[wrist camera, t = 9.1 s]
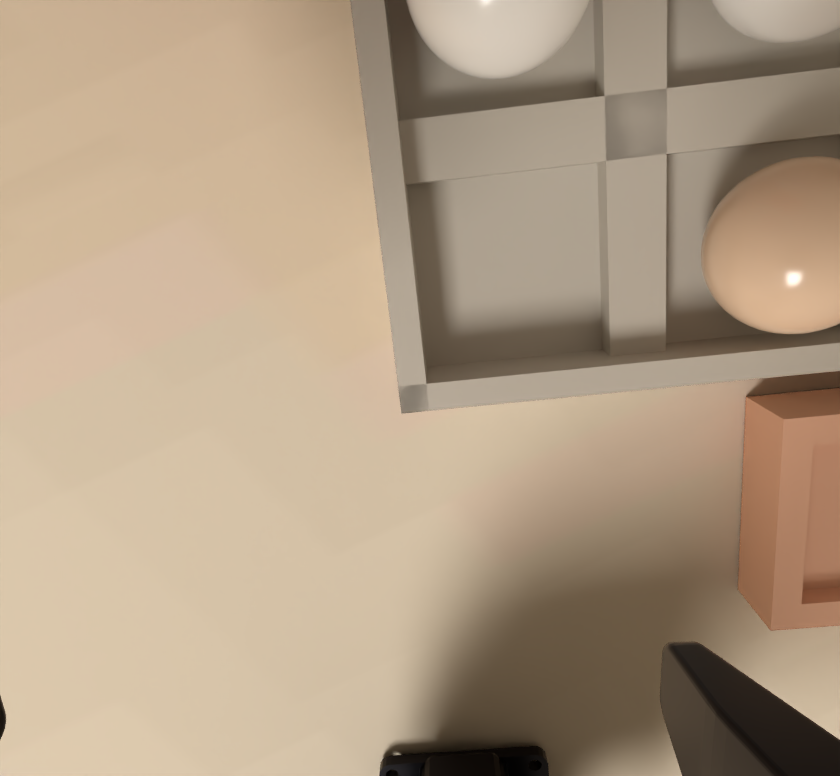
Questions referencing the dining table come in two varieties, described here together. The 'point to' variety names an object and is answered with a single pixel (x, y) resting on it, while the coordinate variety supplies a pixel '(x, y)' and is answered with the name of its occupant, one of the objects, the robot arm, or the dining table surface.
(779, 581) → the egg dish
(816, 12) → the white egg
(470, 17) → the white egg
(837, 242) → the brown egg
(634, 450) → the dining table surface
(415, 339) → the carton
